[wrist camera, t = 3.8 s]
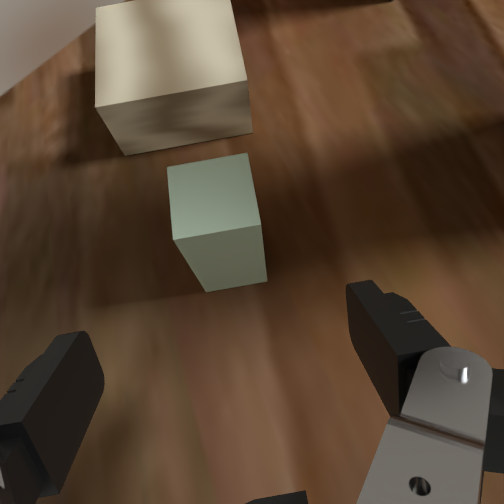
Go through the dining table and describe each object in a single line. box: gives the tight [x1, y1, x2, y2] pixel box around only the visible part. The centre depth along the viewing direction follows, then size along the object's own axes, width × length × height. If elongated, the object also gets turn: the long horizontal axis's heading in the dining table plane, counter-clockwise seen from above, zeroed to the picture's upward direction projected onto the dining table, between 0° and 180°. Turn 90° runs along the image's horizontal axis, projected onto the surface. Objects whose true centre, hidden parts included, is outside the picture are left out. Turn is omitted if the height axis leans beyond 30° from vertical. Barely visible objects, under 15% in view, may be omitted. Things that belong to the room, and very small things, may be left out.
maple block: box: [95, 0, 253, 156], centre depth 29 cm, size 10×10×5 cm
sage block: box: [167, 153, 267, 292], centre depth 21 cm, size 4×4×8 cm
